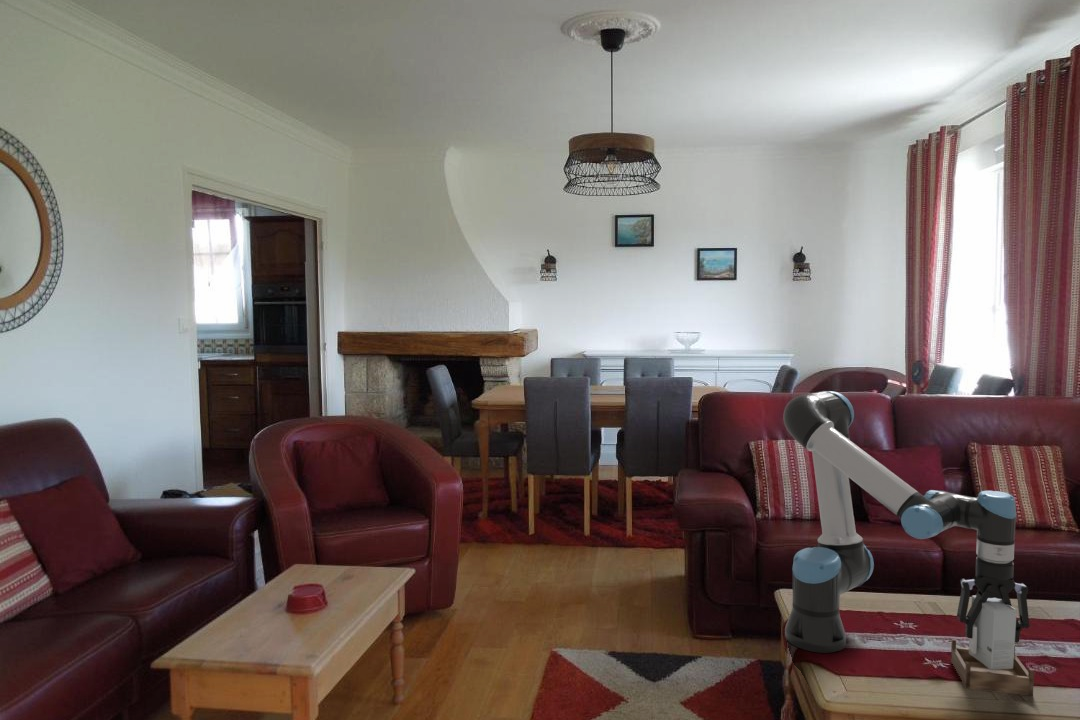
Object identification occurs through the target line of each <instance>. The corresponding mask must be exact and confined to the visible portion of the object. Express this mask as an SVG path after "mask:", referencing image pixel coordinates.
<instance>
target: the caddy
mask: <svg viewBox="0 0 1080 720" xmlns="http://www.w3.org/2000/svg"><path fill="white" fill-rule="evenodd" d="M950 644H951V648H950V650H951V651H950V663H951V665H952V664H953V665H952V666H954V667H955V668H954V667H953V668H954V670H955V669H956V670H955V671H957V672H956V673H958V674H959V675H958V674H957V675H958V677H959V676H960V677H959V679H960V678H961V679H960V681H961V680H962V681H961V682H962V684H963V686H964V688H965V689H968V690H978V691H985V692H995V693H1004V694H1014V695H1022V696H1030V697H1031V696H1032V697H1033V696H1034V681H1035V680H1034V679H1035V670H1034V669H1033V668H1028V669H1027V668H1026V667H1025V665H1024V664H1023V663H1022V662H1021V660H1020V659H1019V658H1018V657H1017V655H1016V645H1015V646H1014V661H1013V669H997V670H990V669H989V668H987V667H986V666H985V665H984V664H983V663H981V662H980V661H979V660H977V659H976V658H974V657H973V656H971V655H970V654H969V647H961V646H957V640H956V638H951V643H950Z"/></svg>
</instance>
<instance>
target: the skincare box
mask: <svg viewBox="0 0 1080 720" xmlns="http://www.w3.org/2000/svg"><path fill="white" fill-rule="evenodd" d="M975 598H976V594H975V595H971V606H972V604H973V602H974V600H975ZM971 606H970V607H971ZM1017 610H1018V609H1017V608H1015V607H1013V605H1012V606H1010V605H1006V604H1005V603H1004V602H1003V601H1002V599H998V598H988V599H987V601H986V602H985V603H982V609H981V611H980V613H979V615H978V617H977V619H976V621H975V625H976V626H977V647H976V654H973V653H972V652H971V650H970V649H969V654H970V655H971V656H973V657H974V658H976V659H977V660H979V661H980V662H981V663H983V664H984V665H985V666H986V667H987V668H989V669H990V670H997V669H1013V661H1014V645H1015V644H1016V642H1015V629H1016V617H1017ZM968 639H969V640H968V643H969V642H970V638H968ZM1015 646H1016V645H1015Z"/></svg>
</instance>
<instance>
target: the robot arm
mask: <svg viewBox="0 0 1080 720" xmlns="http://www.w3.org/2000/svg"><path fill="white" fill-rule="evenodd" d="M854 418H855V411H854V407H853V405H852V403H851V402H850V400H849V399H848V398H847V397H846V396H845V395H843V394H842V393H840V392H837V391H831V390H822V391H817V392H813V393H807V394H800V395H797V396H794V398H792V399H791V400H789V401H788V403H786V405H785V407H784V410H783V417H782V419H783V424H784V427H785V428H786V431H787V432H788V434H789V435H790V436H791V437H792V438H793V439H794V440H795V441H796V442H797V443H799V445H801V446H802V447H803V448H804V449H806V450H807V451H808V452H811V453H812V454H811V455H812V462H813V469H814V471H813V472H814V477H815V486H816V493H817V502H818V510H819V517H820V525H821V532H822V533H821V534H820V536H819V537H818V538H817V544H818V545H817V546H813V547H805V548H802V549H800V550H799V551H797V552H796V553H795V555H794V556H793V564H792V569H791V571H792V605H791V606H792V608H791V611H790V614H789V616H788V619H787V622H786V624H785V628H784V636H785V640H787V642H789V643H790V644H791V645H793V646H795V647H796V648H798V649H802V650H804V651H808V652H812V653H819V654H820V653H821V654H825V653H826V654H827V653H830V654H831V653H836V651H837V652H840V651H841V650H843V649H845V647H846V646H847V634H846V630H845V628H844V625H843V622H842V619H841V615H840V603H841V599H840V596H841V595H842V594H844V593H846V592H849V591H850V590H851V591H852V589H854V588H858V587H860V586H862V585H863V584H864V583H865V582H866V581H868V580H869V579H870V577H871V576H872V574H873V571H874V567H875V564H874V558H873V554H872V553H871V551H870V550H869V549H868V548H867V546H866V545H865V544H864V540H863V539H864V538H863V537H862V536H861V535H859V534H858V533H857V532H856V531H857V530H856V524H855V523H856V522H855V516H854V509H853V501H852V500H853V499H852V494H851V484H850V480H851V481H853V482H854V483H855V484H856V485H858V486H859V487H860V488H861V489H863V490H864V491H865V492H866V493H868V494H869V495H870V496H872V497H873V498H874V499H875V500H876V501H878V502H879V503H880V504H882V505H883V506H884V507H886V508H887V509H888V510H889V511H891V512H892V513H893V514H895V516H897V517H898V518H899V519H900V522H901V526H902V528H903V530H904V532H905V533H906V534H908V535H909V536H910V537H913V538H914V539H917V540H925V539H929V538H932V537H936V536H937V535H938V534H940V533H943V531H946V530H949V529H950V528H951V529H952V527H961V528H964V529H969V530H976V546H975V547H976V551H975V553H976V555H977V556H975V557H976V558H975V575H974V576H973V578H972V579H965V578H961V579H960V580H959V581H960V587H961V590H960V591H961V592H960V596H959V602H958V607H957V613H956V617H957V619H958V620H959V621H960V623H962V624H963V623H964V626H965V630H964V631H965V632H964V633H965V636H966V638H968V639H969V638H970V642H969V641H968V648H969V649H970V650H971V652H972V653H973V654H976V647H977V626H976V625H975V621H976V619H977V617H978V615H979V613H980V611H981V609H982V603H985V602H986V601H987V599H988V598H998V599H1001V600H1002V601H1003V602H1004V603H1005V604H1006V605H1010V606H1012V607H1013V605H1012V603H1011V602H1012V601H1011V599H1010V596H1009V594H1010V593H1011V592H1012V591H1013V590H1014V591H1015V592H1016V599H1017V608H1018V609H1017V610H1018V616H1019V617H1018V618H1017V616H1016V629H1015V644H1016V643H1019V642H1020V632H1021V631H1022V630H1023V629H1029V628H1030V621H1029V620H1030V618H1029V610H1028V609H1029V608H1028V599H1027V596H1028V593H1029V588H1028V586H1027V585H1025V584H1024V583H1023V582H1021V583H1019V582H1018V583H1017V582H1015V580H1014V572H1015V571H1014V569H1015V567H1014V565H1015V563H1014V561H1013V560H1014V559H1015V541H1016V540H1015V538H1016V536H1015V535H1016V522H1017V521H1016V518H1017V511H1016V509H1017V508H1016V506H1017V505H1016V498H1015V497H1014V496H1013V495H1012V494H1010V493H1007V492H1004V491H999V490H995V491H994V490H982V491H980V492H979V493H978V495H977V497H974V496H968V495H963V494H957V493H953V492H948V491H945V490H934V489H930V490H928V491H926V492H925V494H924V495H923V494H921V492H919V491H918V490H916V489H915V488H914V487H912V486H911V485H909V483H908V482H906V481H904V480H903V479H902V478H900V477H899V476H898V475H896V474H895V473H894V472H892V471H891V470H890V469H889V468H887V467H886V466H885V465H884V464H882V463H881V462H879V461H878V460H876V459H875V458H874V457H873V456H871V455H870V454H869V453H868V452H866V451H864V449H862V448H860V447H859V446H858V445H857V444H856V443H854V442H853V441H851V440H850V432H849V428H850V426H851V425H852V423H853V421H854ZM974 586H975V587H977V592H976V594H975V595H976V598H975V600H974V602H973V604H972V603H971V605H972V606H970V608H969V603H970V597H971V590H973V587H974ZM968 608H969V610H968ZM1018 619H1019V620H1018ZM1014 646H1015V647H1016V645H1014Z"/></svg>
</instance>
